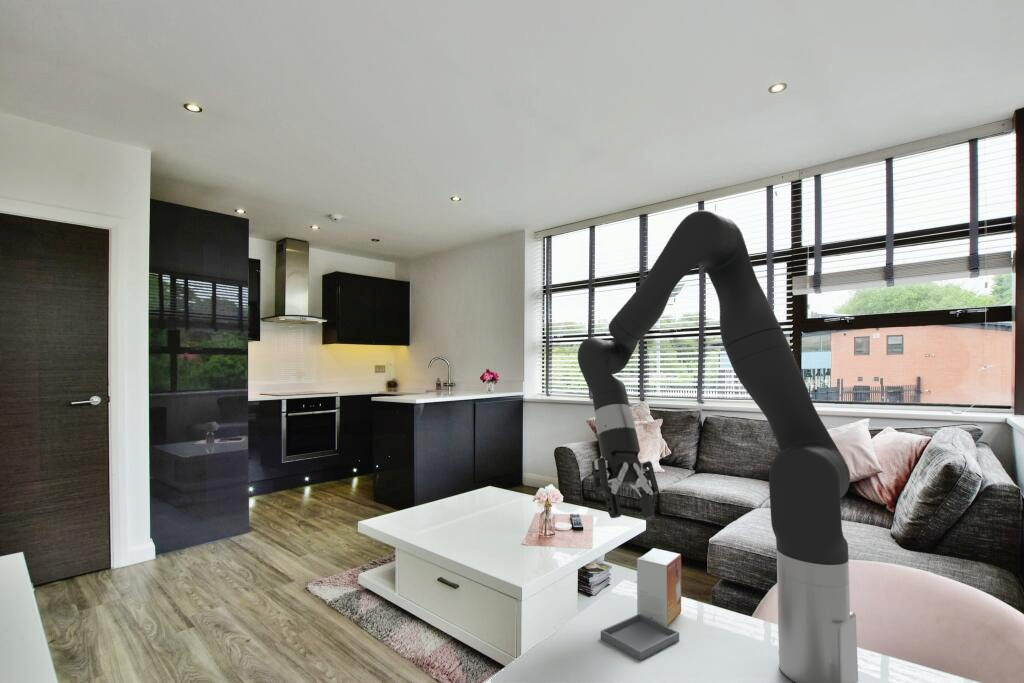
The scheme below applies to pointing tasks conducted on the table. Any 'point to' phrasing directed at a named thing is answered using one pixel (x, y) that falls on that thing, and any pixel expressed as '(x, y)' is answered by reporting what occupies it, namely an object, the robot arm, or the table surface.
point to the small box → (659, 585)
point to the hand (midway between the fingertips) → (633, 517)
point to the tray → (640, 636)
